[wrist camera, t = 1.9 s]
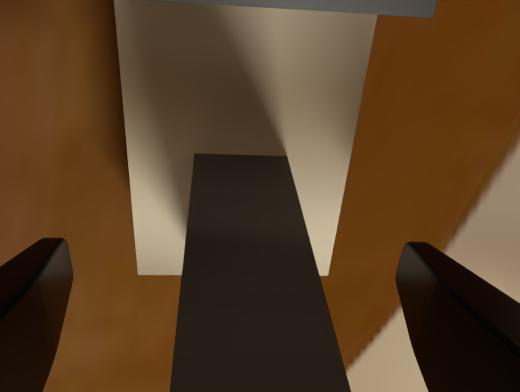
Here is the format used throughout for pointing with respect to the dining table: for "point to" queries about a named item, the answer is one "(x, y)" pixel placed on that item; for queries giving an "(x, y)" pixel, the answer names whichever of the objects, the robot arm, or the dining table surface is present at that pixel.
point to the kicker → (245, 175)
